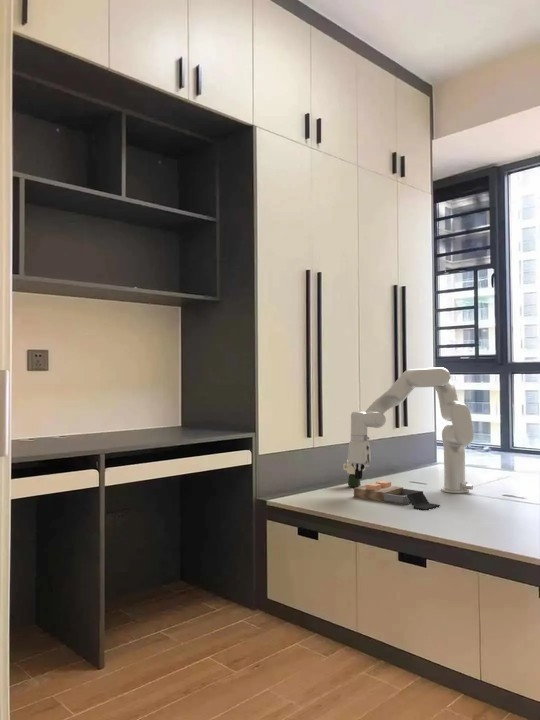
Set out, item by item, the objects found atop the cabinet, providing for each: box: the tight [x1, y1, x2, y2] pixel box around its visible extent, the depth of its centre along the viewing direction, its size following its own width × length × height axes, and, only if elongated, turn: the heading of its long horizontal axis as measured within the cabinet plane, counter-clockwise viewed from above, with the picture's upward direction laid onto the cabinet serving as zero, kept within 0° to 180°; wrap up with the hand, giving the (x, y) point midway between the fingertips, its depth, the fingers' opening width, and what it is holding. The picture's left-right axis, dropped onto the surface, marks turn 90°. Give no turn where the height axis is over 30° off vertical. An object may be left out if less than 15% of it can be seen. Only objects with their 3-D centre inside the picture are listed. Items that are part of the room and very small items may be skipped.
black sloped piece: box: [407, 490, 441, 511], centre depth 259 cm, size 12×7×10 cm
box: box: [383, 487, 424, 506], centre depth 272 cm, size 10×16×4 cm, turn 137°
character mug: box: [342, 459, 366, 488], centre depth 305 cm, size 11×7×13 cm, turn 71°
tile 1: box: [365, 482, 381, 490], centre depth 279 cm, size 5×5×2 cm
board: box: [353, 482, 404, 502], centre depth 281 cm, size 16×16×4 cm
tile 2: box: [375, 480, 392, 488], centre depth 284 cm, size 5×5×2 cm
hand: (358, 478), depth 284 cm, fingers closed
